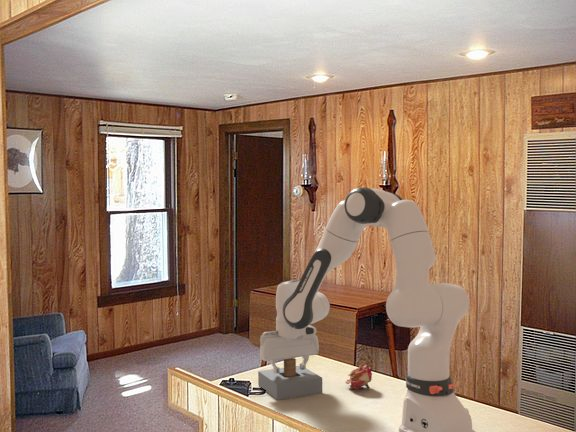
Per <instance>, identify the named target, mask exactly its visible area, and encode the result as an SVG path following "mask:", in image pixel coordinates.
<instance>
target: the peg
mask: <svg viewBox="0 0 576 432" xmlns="http://www.w3.org/2000/svg"><path fill="white" fill-rule="evenodd" d="M296 366H297V359H296V358H288V359H283V368H284V377H285V378H287V377H294V376H296Z"/></svg>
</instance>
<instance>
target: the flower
mask: <svg viewBox="0 0 576 432" xmlns="http://www.w3.org/2000/svg"><path fill="white" fill-rule="evenodd" d="M361 365H362V364H359V366H358V367H357V368H355V369H352V370H351V371H350V373H348V377H349V379H346V381H345V384H346V385H349V388H350V389H351V390H355V389H360V388H362V387H365V388H366V389H367V390H370V389H371V387H370V386H369V383H371V382H372V380H373V371H372V370H373V369H372V368H371V367H370V366H369V365H368V364H366V365H365V364H364V365H362V366H361Z"/></svg>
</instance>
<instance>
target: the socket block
mask: <svg viewBox="0 0 576 432" xmlns="http://www.w3.org/2000/svg"><path fill="white" fill-rule="evenodd" d="M279 368H280V370H279V371H280V373H274V371H273V368H271V369H265V370H264V369H263V370H258V371H257V373H258V374H257V375H258V376H257V377H258V379H257V381H258V385H259V386H260V387H259V386H258V387H259V388H261V387H262V388H264V389H265V390H266V391H265V392H266V393H267V394H269V396H271V397H273V398H274V399H275V400H276V401H281V400H287V399H294V398H300V397H306V396H312V395H318V394H319V395H320V394H323V377H322V376H321V375H318V374H317V373H315V372H313V371H311V370H310V369H308V368H306V369H305V370H301V369H300V365H296V376H294V377H287V378H285V377H284V367H279ZM262 388H261V389H262Z"/></svg>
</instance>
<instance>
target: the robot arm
mask: <svg viewBox="0 0 576 432" xmlns="http://www.w3.org/2000/svg"><path fill="white" fill-rule="evenodd" d="M367 226H371V227H375V228H386V230H387V233H388V236H389V237H388V238H389V241H390V245H391V249H392V254H393V257H394V263H395V266H396V268H395V269H396V270H395V271H396V276H395V277H396V278H395V284H394V287H393V289H392V291H391V292H390V294H388V296H387V299H386V302H385V310H386V314H387V317H388V319H389V320H390V322H391V323H393V324H394V325H395V326H397V327H402V328H411V329H412V328H413V329H414V328H419V331H418V333H417V334H416V335H415V337H414V338H413V339H412V340H411V341H410V343H409V345H408V346H407V372H406V376H405V386H406V387H405V388H407V390H406V394H405V397H404V399H403V407H402V417H401V424H399V426H398V432H476V430H474V429H473V422H472V421H473V420H472V416H471V414H470V411H469V409H468V408H467V407H465V406H464V405H463V404H462V402H461V401H460V399H459V398H458V397H457V396H456V394H455V392H454V391H455V389H456V388H457V387H456V386H457V384H456V383H453V381H452V378H451V375H450V359H451V357H450V354H451V352H450V351H451V346H452V341H453V339H454V336H455V332H456V330H457V327H458V325H459V324H460V323H461V322H460V321H462V319H463V318H464V317H465V316H466V315H467V313H468V311H469V310H470V299H469V296H468V293H467V291H466V290H465V288H463V287H462V286H461V285H458V284H453V283H450V282H439V283H430V282H429V271H430V269H431V268H432V267H433V266H434V265H435V263H436V260H437V257H436V252H435V249H434V246H433V245H434V244H433V242H432V238H431V235H430V234H431V233H430V231H429V228H428V225H427V222H426V220H425V218H424V215H423V213H422V210H421V208H420V207H419V205H418V204H417V203H416V202H415V201H413V200H410V199H403V198H402V196H400V195H398V194H396V193H394V192H389V191H387V190H383V189H380V188H371V187H366V186H364V187H362V186H361V187H356V188H354V189H352V190H350V192H348V193H347V195H346V197H345V199H344V200H341V201H340V202H338V203H337V205H336V207H335V208H334V210H333V211H332V213H331V216H330V217H329V220H328V222H327V223H326V226H325V229H324V231H323V233H322V235H321V237H320V241H318V242H319V243H318V245H317V247H316V249H315V250H314V253H313V255H312V256H311V258H310V260H309V262H308V263H307V266H306V267H305V270H304V271H303V273H302V276H301V277H300V279H299V280H298V279H297V280H296V279H294V280H288V281H282V282H280V283H279V284H278V285H277V287H276V294H275V309H276V317H275V330H272V331H264V332H263V333H261V335H260V336H259V344H260V346H259V357H260V359H261V360H262V361H264V362H270V365H271V366H272V367H273V368H272V369H273V371H274V373H280V371H279V370H280V368H281V367H279V366H277V365H276V364H277V361H278V360H279V361H280V360H284V359H288V358H295V359H296V358H302V362H300V363H299V366H300V369H301V370H305V369H307V366H306V365H307V364H308V362H309V359H310V357H311V356H317V355H318V354H319V351H320V349H319V348H320V345H319V338H318V335H317V328H316V327H315V326H313V325H312V324H315V323H317V322H319V321H322V320H324V319H326V318H327V316H328V315H329V313H330V310H331V303H330V300H329V298H328V296H327V295H325V294H324V293H323V292H320V291H319V290H320V287H321V285H322V284H323V282H324V279H325V278H326V277H327V275H328V274H329V273H330V272H331V271H333V270H334V269H335V268H337V267H338V266H340V265H342V264H343V263H345V262H346V261H348V260H349V259H350V257H351V256H352V255H353V254H354V251H355V250H356V248H357V245H358V243H359V241H360V239H361V236H362V233H363V232H364V229H365V228H366V227H367Z"/></svg>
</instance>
